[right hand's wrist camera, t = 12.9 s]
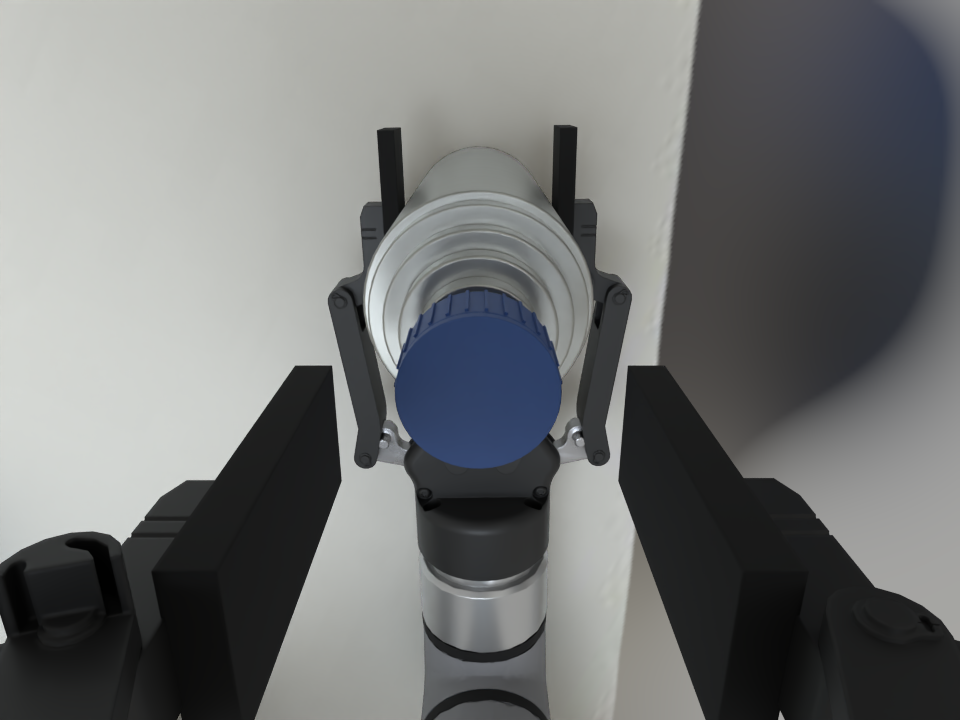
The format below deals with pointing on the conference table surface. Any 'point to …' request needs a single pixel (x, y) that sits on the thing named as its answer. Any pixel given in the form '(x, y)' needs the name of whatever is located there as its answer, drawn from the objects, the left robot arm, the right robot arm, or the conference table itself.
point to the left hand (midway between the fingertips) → (477, 128)
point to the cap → (478, 380)
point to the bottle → (478, 254)
